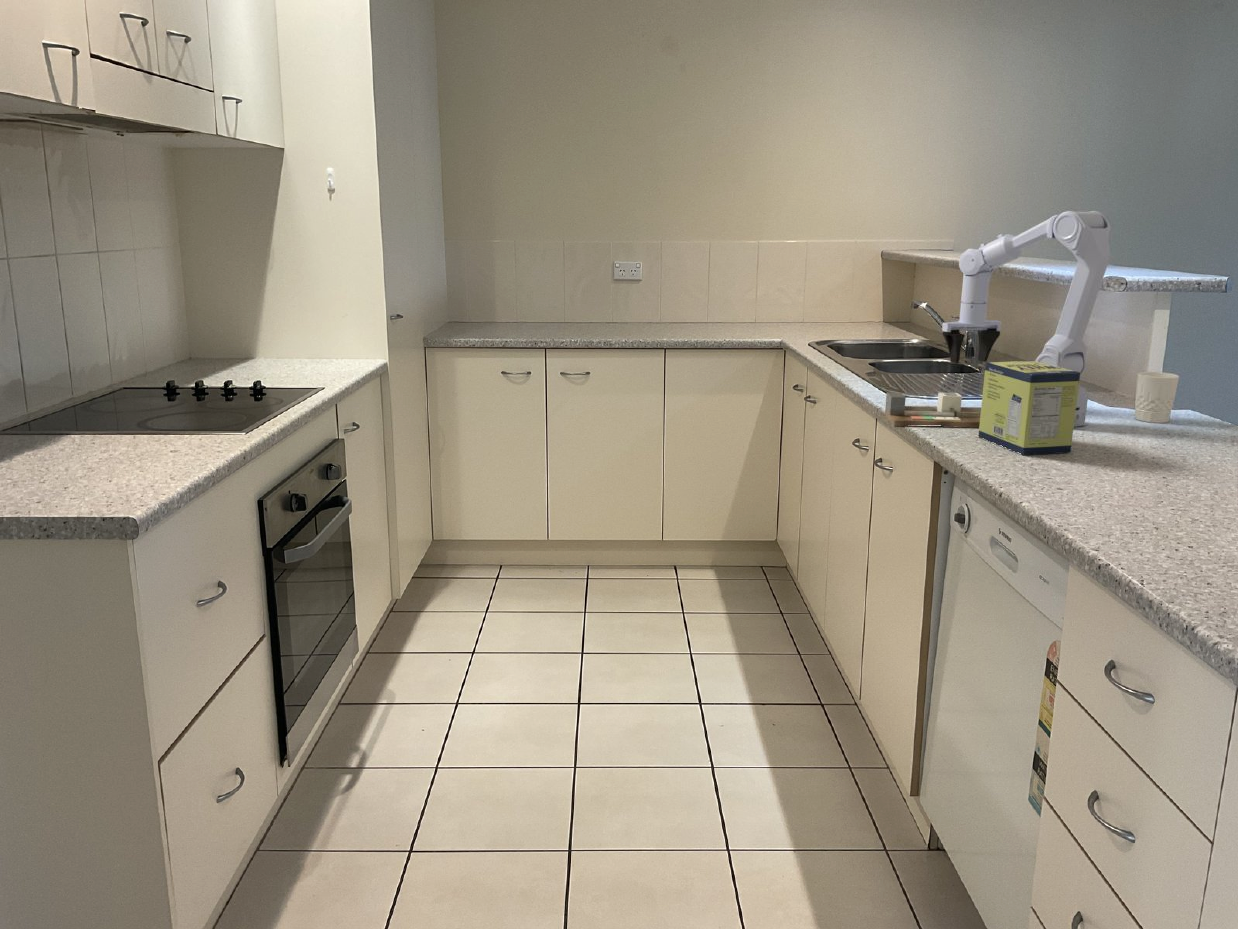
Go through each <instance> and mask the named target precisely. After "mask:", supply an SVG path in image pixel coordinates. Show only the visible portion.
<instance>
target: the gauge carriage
mask: <svg viewBox="0 0 1238 929" xmlns="http://www.w3.org/2000/svg"><path fill="white" fill-rule="evenodd" d="M937 395H938V396H937V405H936V406H937V411H943V412H954V417H957V412H960V411H961V407H962V399H963V396H962V395H961V394H959V393H958V392H938V394H937Z"/></svg>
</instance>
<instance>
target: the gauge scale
mask: <svg viewBox="0 0 1238 929" xmlns="http://www.w3.org/2000/svg"><path fill="white" fill-rule="evenodd" d="M910 417H911V418H912V419H913V420H952V421H961V419H960V418H958V417H932V416H910Z"/></svg>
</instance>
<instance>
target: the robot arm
mask: <svg viewBox="0 0 1238 929" xmlns="http://www.w3.org/2000/svg"><path fill="white" fill-rule="evenodd" d="M1111 226H1112V225H1111V224H1110V222H1109V221H1108V220H1107V218H1106V216H1104V214H1103V213H1102V212H1099V211H1097V210H1091V211H1073V210H1067V211H1064V212H1061V213H1060V214H1056V215H1053V216H1051V217H1050V218H1048V219H1046V220H1044V221H1042V222H1040V223H1038V224H1037V225H1034V226H1033V227H1031V228H1029V229H1027V230H1026V231H1025V230H1024V231H1023V232H1020V233H1018V234H1017V235H1013V234H1011V233H1007V234H1006V233H1001V234H999V235H997V238H996V239H994V240H992V241H990V242H988V243H987V242H985V243H982V244H980V246H979V248H978V249H975V248H968V249H966V250H965V251H963V253H962V254H961V255H960V257H959V260H958V267H959V269H960V271H961V272H962V273H963V274H962V275H963V277H962V286H961V287H962V288H961V296H960V297H961V300H960V309H959V318H958V319H959V320H957V321H950V322H949V321H948V322H942V327H941V330H942V331H941V332H942V337H943V338H944V340H945V343H946V346H947V348H948V352H949V357H950V363H953V364H959V362H960V358H961V351H962V345H963V341H964V339H965V336H966V335H965V334H964V333H962V332H968V331H976V332H977V336H978V356H977V357H978V361H979V362H983V363H986V362H988V358H989V355H990V353H991V352H992V351H991V350H992V349H993V347H994V344H995V342H996V341H998V338H999V337H1000V336H1001V330H1002V323H1003V322H1002V321H999V320H987V311H988V301H989V300H988V299H989V290H990V281H991V280H992V274H993V272H995V271H996V269H998V268H999V267H1001V266H1004V265H1006V264H1008V263H1010V262H1013V261H1015V260H1017V259H1019V258H1020V257H1021V255H1022V251H1023V250H1024V251H1025V250H1026V249H1028V248H1031V247H1034V246H1036V245H1038V244H1042V243H1043V242H1046V241H1049V240H1051V239H1056V240H1058V242H1060V243H1061V244H1062V245H1063V246H1064V247H1065V248H1067V249H1068V251H1070V252H1071V253H1072V254H1073V256H1074V258H1075V259H1076V260H1077V263H1076V268H1075V271H1074V274H1073V277H1072V280H1071V283H1070V287H1069V290H1068V292H1067V296H1066V299H1065V302H1064V305H1063V308H1062V311H1061V314H1060V317H1059V321H1058V323H1057V327H1056V329H1055V330H1056V331H1055V333H1054V335H1053V336H1052V337H1051V338H1049V340H1047V341H1046V343H1045V344H1044V347H1043V350H1042V352H1041V353H1040V354H1039V355H1038V356H1037V357H1036V358H1035V361H1036V362H1039V363H1043V364H1047V365H1052V366H1056V367H1060V368H1064V369H1068V370H1073V371H1077V372H1080V376H1081V375H1082V374H1083V373H1084V372H1085V370H1086V366H1087V358H1086V354H1087V351H1088V346H1087V345H1086V343H1085V342H1084V336H1085V333H1086V330H1087V328H1088V326H1089V325H1088V324H1089V321H1090V318H1091V315H1092V313H1093V311H1094V310H1093V309H1094V307H1095V303H1096V300H1097V298H1098V294H1099V292H1100V289H1101V285H1102V282H1103V280H1104V278H1105V274H1106V270H1107V268H1108V264H1109V262H1110V257H1111V251H1110V250H1111V249H1110V243H1109V242H1110V241H1109V233H1110V231H1111ZM1088 399H1089V394H1088V391H1087V389H1086V388H1085V387H1083V386H1082V385H1079V388H1078V396H1077V404H1076V412H1075V420H1074V428H1075V427H1082V426H1087V425H1088V422H1086V417H1087V416H1086V415H1087V407H1088V401H1089V400H1088Z"/></svg>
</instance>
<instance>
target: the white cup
mask: <svg viewBox="0 0 1238 929" xmlns="http://www.w3.org/2000/svg"><path fill="white" fill-rule="evenodd" d="M1179 380H1180V376H1179V375H1178V374H1174V373H1171V372H1170V373H1169V372H1159V371H1140V372H1138V373H1137V377H1136V389H1135V402H1134V405H1135V409H1134V417H1133V418H1134V419H1135V420H1137V421H1140V422H1145V423H1151V424H1152V423H1153V424H1155V423H1157V424H1164V423H1169V421H1170V418H1171V413H1172V410H1173V405H1174V404H1175V398H1176V393H1177V389H1178V384H1179Z"/></svg>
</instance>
